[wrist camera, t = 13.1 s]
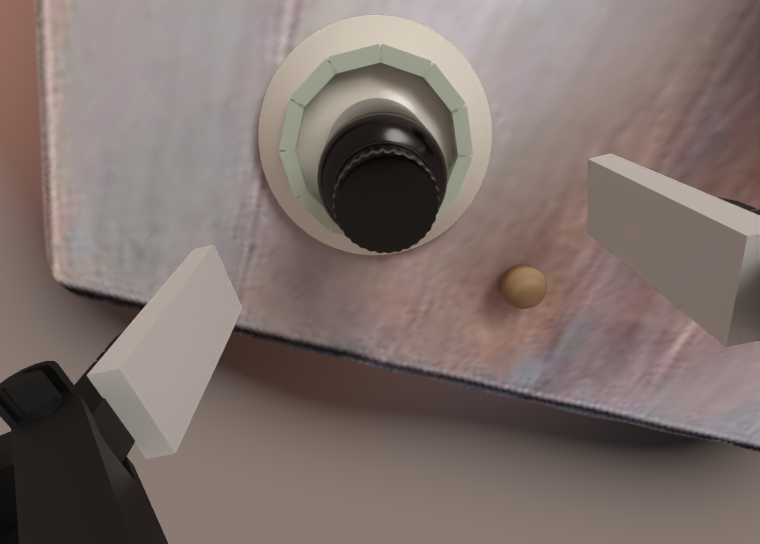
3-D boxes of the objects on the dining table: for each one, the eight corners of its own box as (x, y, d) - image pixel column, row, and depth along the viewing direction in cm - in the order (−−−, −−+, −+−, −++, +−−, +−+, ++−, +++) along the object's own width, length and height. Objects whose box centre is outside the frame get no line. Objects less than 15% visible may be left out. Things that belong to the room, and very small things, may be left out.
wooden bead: (493, 262, 35) (506, 283, 32) (535, 253, 35) (553, 273, 32) (497, 298, 37) (510, 321, 33) (537, 289, 36) (554, 311, 33)
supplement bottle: (374, 72, 27) (389, 84, 16) (445, 147, 30) (498, 201, 19) (305, 152, 29) (278, 209, 18) (377, 216, 32) (389, 300, 21)
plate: (225, 51, 27) (214, 51, 25) (473, -14, 26) (482, -19, 24) (301, 269, 34) (298, 282, 32) (498, 224, 33) (507, 235, 31)
